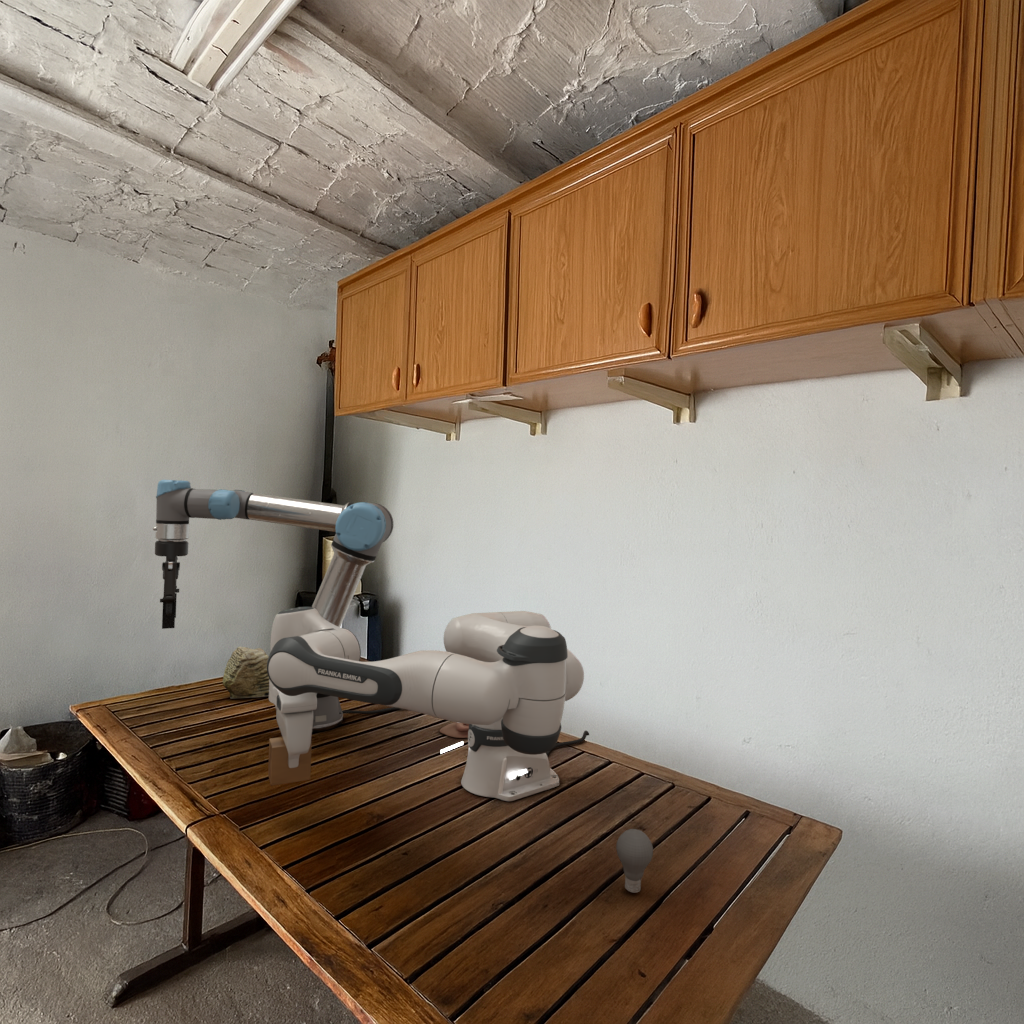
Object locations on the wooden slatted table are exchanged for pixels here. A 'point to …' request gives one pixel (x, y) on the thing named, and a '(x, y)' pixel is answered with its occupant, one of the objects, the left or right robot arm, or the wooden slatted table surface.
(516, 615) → the right robot arm
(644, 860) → the light bulb
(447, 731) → the anatomical model
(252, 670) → the fossil
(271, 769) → the tan brown block
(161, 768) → the wooden slatted table surface
